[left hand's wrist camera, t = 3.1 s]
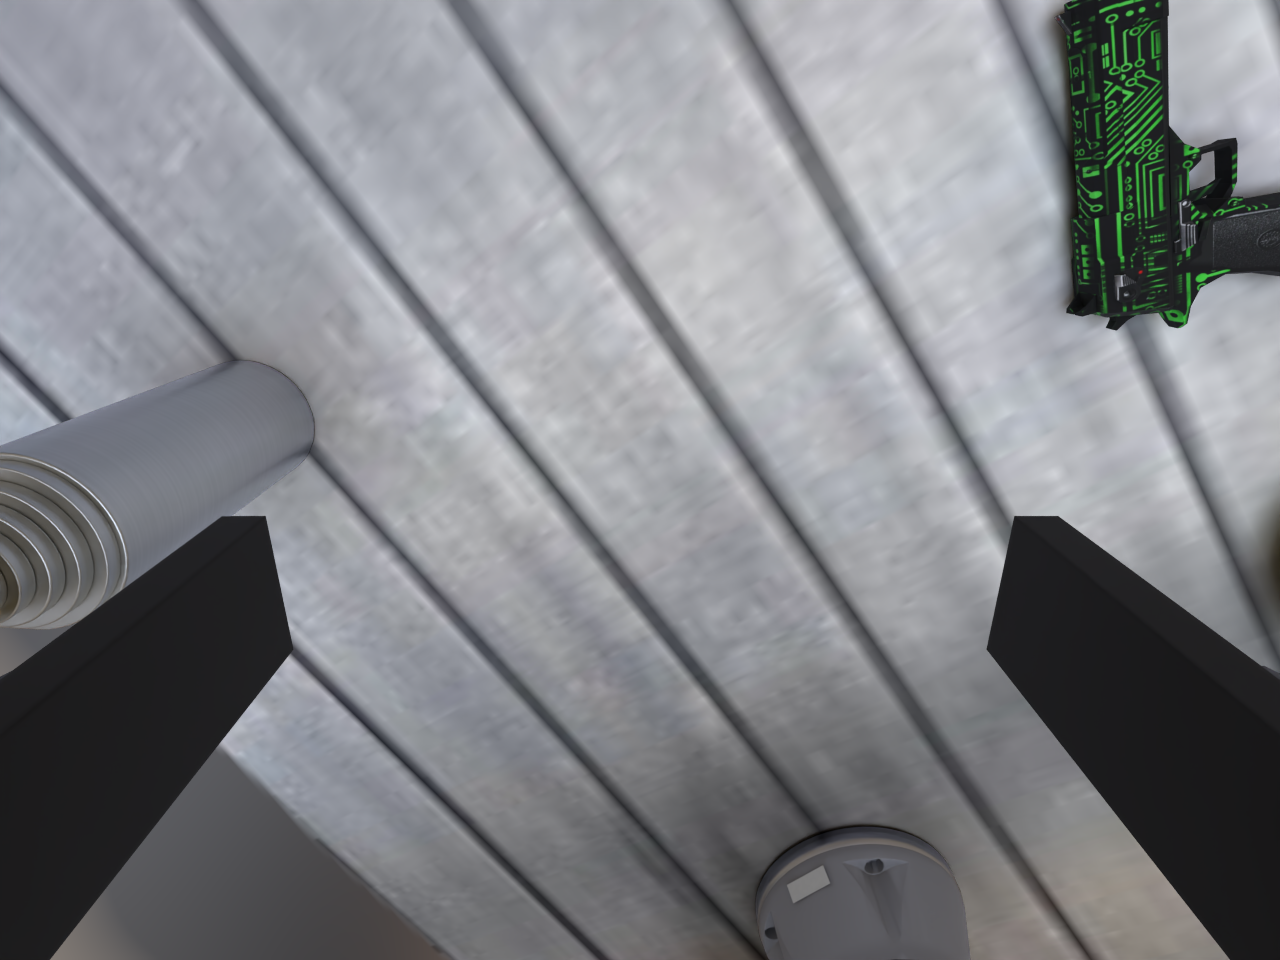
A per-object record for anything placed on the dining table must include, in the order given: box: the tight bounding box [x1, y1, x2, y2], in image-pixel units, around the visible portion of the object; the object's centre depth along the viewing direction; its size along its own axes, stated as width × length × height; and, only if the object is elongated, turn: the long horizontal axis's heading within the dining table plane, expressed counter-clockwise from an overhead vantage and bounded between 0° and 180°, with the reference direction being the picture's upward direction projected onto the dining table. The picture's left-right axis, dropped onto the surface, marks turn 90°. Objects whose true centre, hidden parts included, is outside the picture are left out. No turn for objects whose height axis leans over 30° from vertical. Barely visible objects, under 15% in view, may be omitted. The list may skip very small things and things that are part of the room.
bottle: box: [0, 360, 314, 630], centre depth 31 cm, size 7×7×22 cm
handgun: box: [1055, 0, 1280, 330], centre depth 34 cm, size 16×3×15 cm
